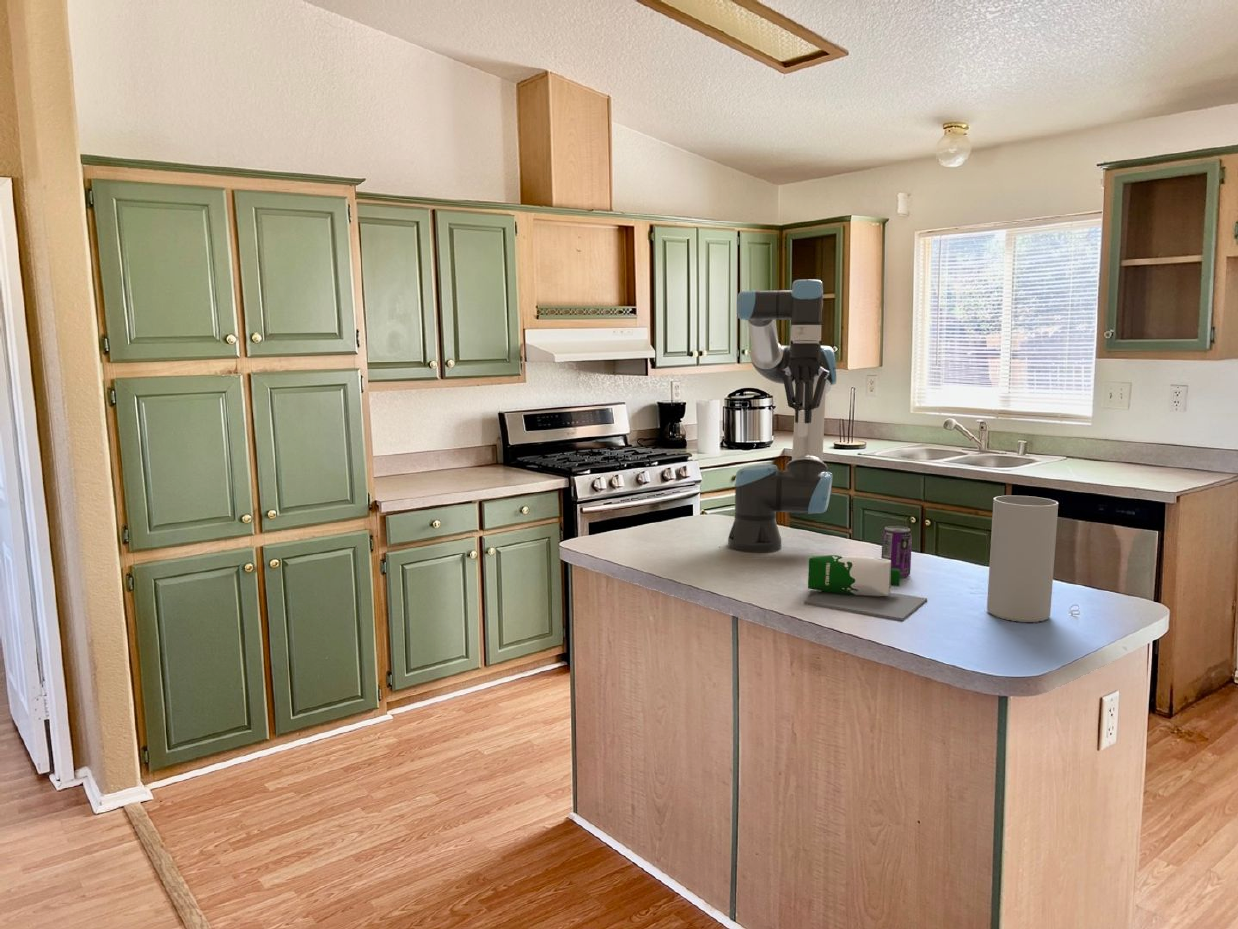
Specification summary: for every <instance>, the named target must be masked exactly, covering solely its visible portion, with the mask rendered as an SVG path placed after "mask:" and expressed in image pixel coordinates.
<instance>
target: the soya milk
mask: <svg viewBox="0 0 1238 929" xmlns="http://www.w3.org/2000/svg"><path fill="white" fill-rule="evenodd" d="M807 574H808V575H807V576H808V577H807V578H808V580H807V589H809V590H813V591H814V590H815V591H819V592H820V591H823V592H828V593H837V594H850V595H863V596H875V597H876V596H889V595H890V592H891V587H900V582H901V581H900V580H901V578H900V569H895V568H891V560H887V559H883V558H881V557H870V556H869V557H868V556H855V555H842V554H841V555H840V554H836V555H835V554H832V555H831V554H830V555H827V554H826V555H819V556H818V555H817V556H811V557H809V558H808V573H807Z"/></svg>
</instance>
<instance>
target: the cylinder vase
mask: <svg viewBox="0 0 1238 929" xmlns="http://www.w3.org/2000/svg"><path fill="white" fill-rule="evenodd" d="M992 503H993V505H992V519H991V533H990V534H991V536H990V537H991V538H990V551H989V553H990V554H989V567H988V586H987V600H986V609H987V612H988V613H990V614H991V615H993V616H994V617H995V618H998V619H1002V620H1005V619H1006V620H1007V621H1009V620H1011V621H1010V622H1015V621H1018V623H1026V622H1033V623H1040V622H1039V621H1042V622H1045V621H1046V619H1047V620H1048V619H1049V618H1050V616H1051V612H1052V611H1051V609H1052V595H1053V581H1054V567H1055V556H1056V555H1055V554H1056V553H1055V552H1056V542H1057V527H1058V526H1057V524H1058V513H1059V511H1058V510H1059V502H1058V501H1057V500H1054V499H1051V498H1046V497H1045V498H1044V497H1038V496H1029V495H1001V496H1000V495H999V496H998V495H997V496H995V497H993V502H992ZM1044 620H1045V621H1044Z"/></svg>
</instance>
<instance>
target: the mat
mask: <svg viewBox="0 0 1238 929" xmlns="http://www.w3.org/2000/svg"><path fill="white" fill-rule="evenodd" d="M926 602H928V598H926V597H922V596H921V597H920V596H917V595H916V596H915V595H910V594H902V593H896V592H891V591H890V595H889V596H876V597H875V596H863V595H850V594H837V593H828V592H823V591H819V592H817V593H815V594H814V595H812V596H811V597H809V598H807V599H805V600H804V602H803V603H804V604H806V605H811V606H815V607H822V608H827V609H834V610H838V611H844V612H850V613H855V614H860V615H861V614H862V615H865V616H866V615H867V616H872V617H878V618H882V619H889V620H892V621H893V620H895V621H900V622H904V620H906V619H907V618H908V617H910V616H911V615H912V614H913V613H914V612H916V611H917V610H918V609H919V608H920V607H922V605H924V604H925V603H926Z"/></svg>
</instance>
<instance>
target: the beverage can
mask: <svg viewBox="0 0 1238 929" xmlns="http://www.w3.org/2000/svg"><path fill="white" fill-rule="evenodd" d="M912 542H913V536H912V533H911V528H909V527H906V526H900V525H897V526H896V525H895V526H893V525H891V526H885V527H884V531H883V533H882V536H881V556H880V558H883V559H887V560H891V568H895V569H900V579H902V578H906V577H908V576H910V575H911V567H912V566H911V565H912V545H913V543H912Z"/></svg>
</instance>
